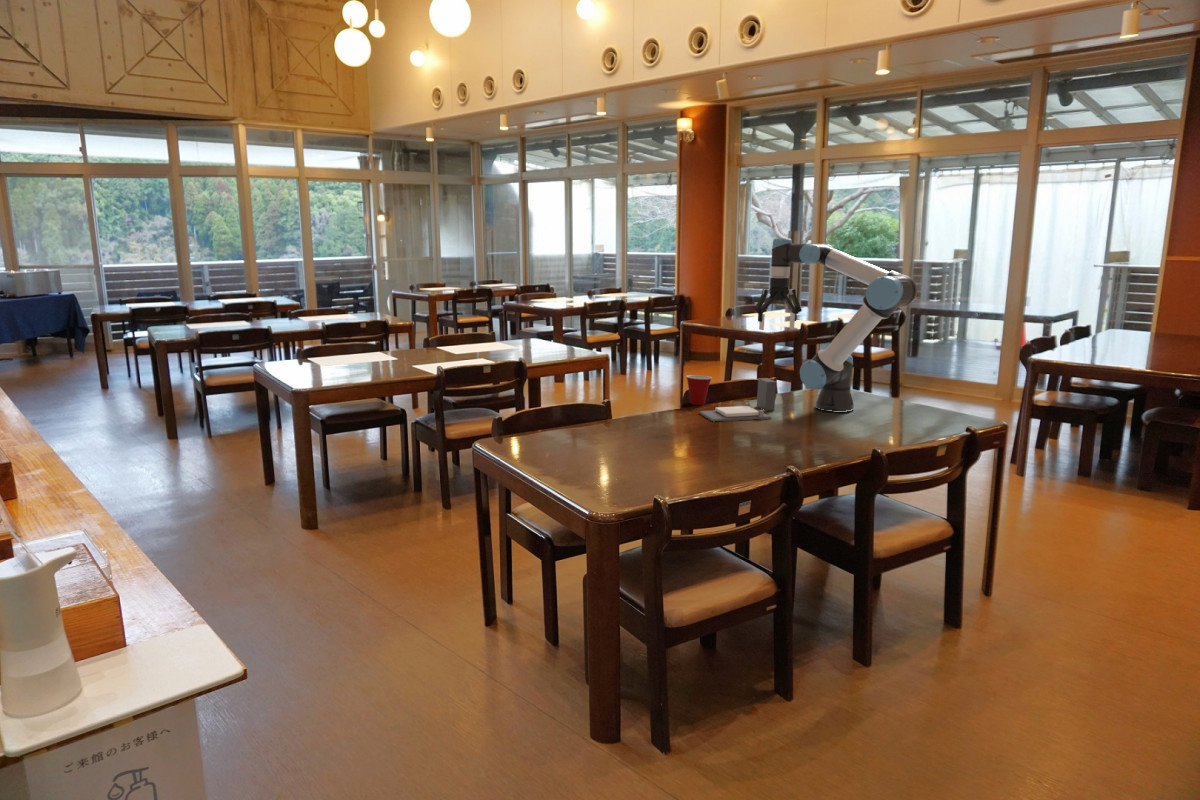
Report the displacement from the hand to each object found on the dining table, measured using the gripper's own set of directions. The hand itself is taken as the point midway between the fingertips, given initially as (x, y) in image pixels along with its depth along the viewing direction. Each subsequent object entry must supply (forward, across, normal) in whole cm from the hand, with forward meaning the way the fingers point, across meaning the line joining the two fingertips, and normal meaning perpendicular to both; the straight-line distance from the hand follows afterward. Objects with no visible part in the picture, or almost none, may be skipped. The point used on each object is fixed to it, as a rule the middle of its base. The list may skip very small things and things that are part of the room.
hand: (776, 329), depth 321 cm
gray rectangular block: (+32, +6, +6) cm, 33 cm away
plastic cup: (+32, +30, -8) cm, 45 cm away
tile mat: (+32, +24, +16) cm, 43 cm away
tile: (+30, +16, +16) cm, 37 cm away
